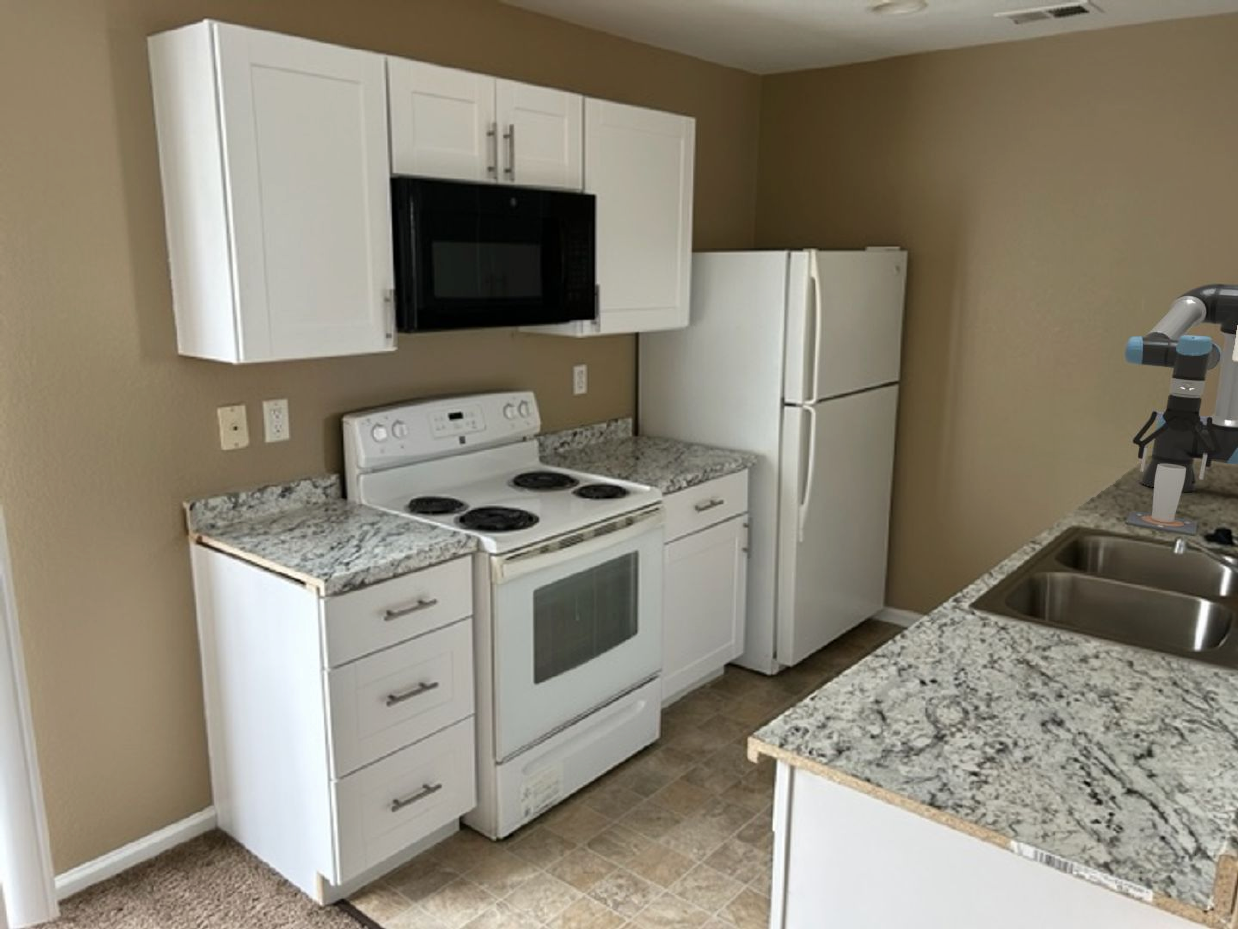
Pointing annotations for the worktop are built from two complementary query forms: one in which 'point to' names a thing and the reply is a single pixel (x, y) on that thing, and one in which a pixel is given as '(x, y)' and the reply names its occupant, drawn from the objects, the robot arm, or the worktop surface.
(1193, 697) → the worktop surface
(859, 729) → the worktop surface
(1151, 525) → the coaster mat
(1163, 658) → the worktop surface
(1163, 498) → the drinking glass
